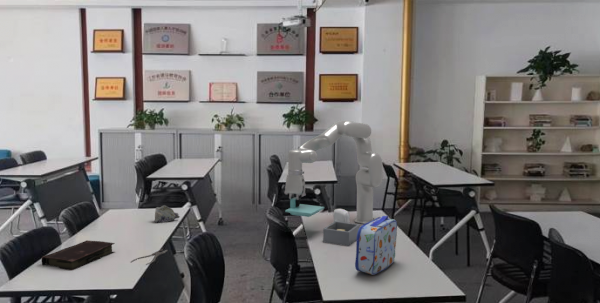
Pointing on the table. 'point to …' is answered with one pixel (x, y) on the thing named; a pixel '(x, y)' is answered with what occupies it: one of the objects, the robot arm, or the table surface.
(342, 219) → the photo printer
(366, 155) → the robot arm
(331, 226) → the tub
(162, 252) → the pliers
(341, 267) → the table surface
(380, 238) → the lunch box
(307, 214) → the lid
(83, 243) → the diary
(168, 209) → the mineral rock
